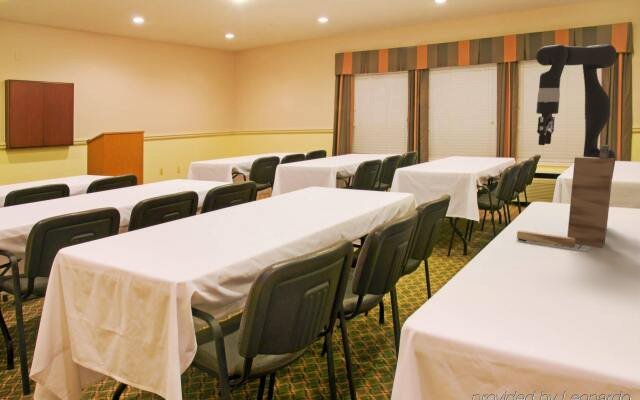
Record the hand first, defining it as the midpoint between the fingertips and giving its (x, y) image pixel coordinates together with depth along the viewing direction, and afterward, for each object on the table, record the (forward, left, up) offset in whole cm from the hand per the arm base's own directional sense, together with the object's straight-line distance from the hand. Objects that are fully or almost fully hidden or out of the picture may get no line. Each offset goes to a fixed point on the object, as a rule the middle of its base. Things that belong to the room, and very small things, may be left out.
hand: (544, 144), depth 194 cm
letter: (+7, +9, -36) cm, 38 cm away
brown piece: (-1, +17, -36) cm, 40 cm away
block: (+7, +5, -36) cm, 37 cm away
